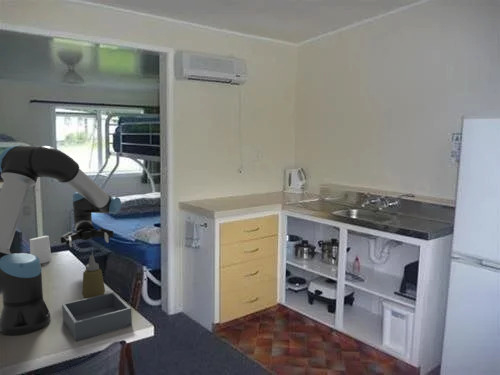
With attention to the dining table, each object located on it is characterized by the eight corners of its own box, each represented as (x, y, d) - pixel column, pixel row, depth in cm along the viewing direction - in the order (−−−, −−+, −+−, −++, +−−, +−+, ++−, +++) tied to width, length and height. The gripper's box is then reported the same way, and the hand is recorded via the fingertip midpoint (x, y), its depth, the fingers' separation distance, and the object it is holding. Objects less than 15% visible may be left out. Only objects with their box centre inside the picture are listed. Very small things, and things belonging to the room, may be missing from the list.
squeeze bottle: (82, 299, 159) (79, 254, 156) (104, 295, 162) (101, 251, 160) (83, 307, 151) (80, 259, 149) (106, 303, 155) (104, 256, 152)
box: (131, 325, 137) (131, 308, 136) (75, 341, 126) (74, 322, 126) (114, 307, 151) (113, 292, 150) (63, 320, 141) (61, 304, 140)
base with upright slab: (44, 257, 214) (42, 234, 212) (54, 259, 209) (53, 236, 208) (27, 262, 206) (25, 238, 205) (38, 264, 202) (36, 240, 200)
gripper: (115, 234, 188) (122, 246, 169) (54, 241, 177) (55, 255, 158) (114, 218, 187) (121, 228, 168) (53, 224, 176) (53, 236, 157)
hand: (89, 241), depth 163 cm, fingers open, 13 cm apart
